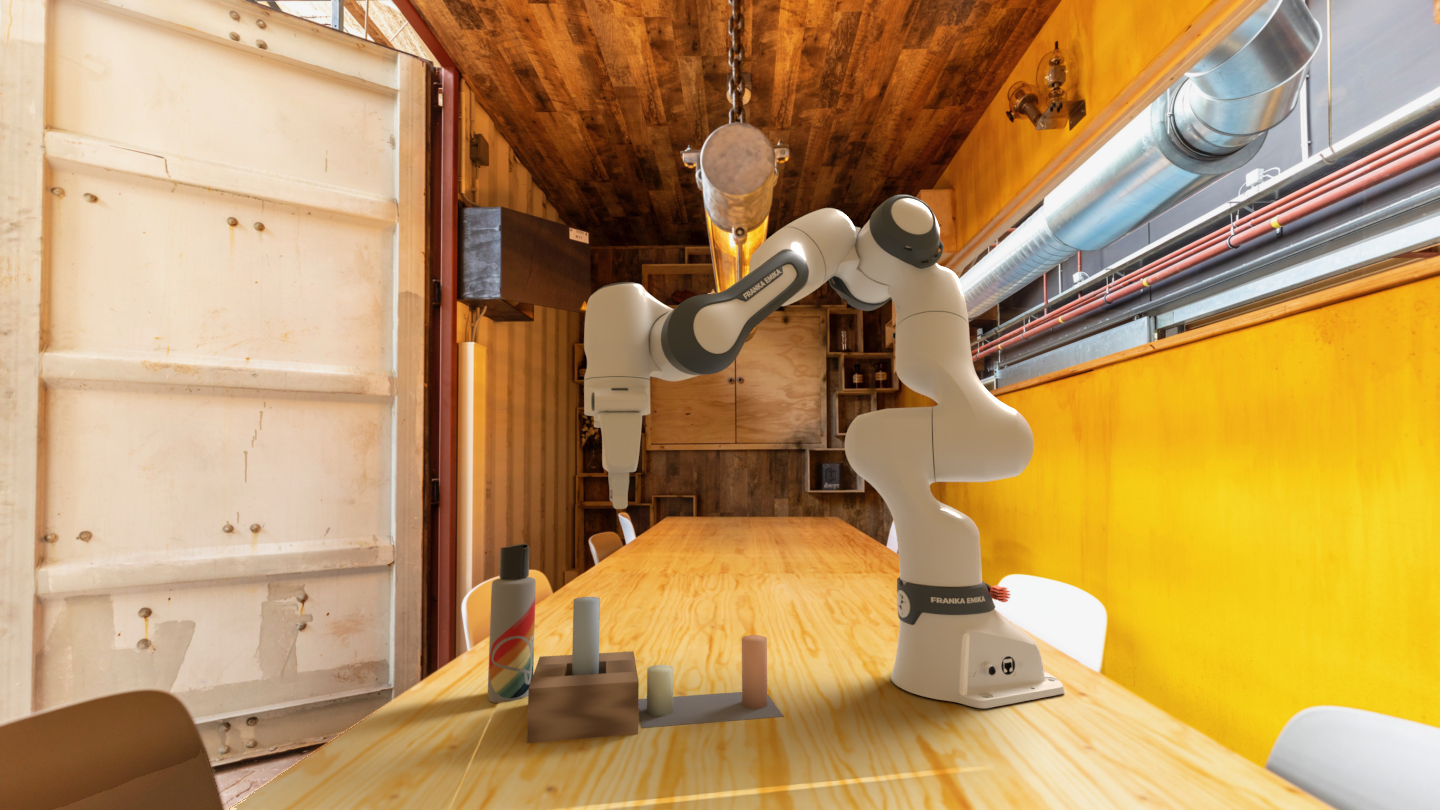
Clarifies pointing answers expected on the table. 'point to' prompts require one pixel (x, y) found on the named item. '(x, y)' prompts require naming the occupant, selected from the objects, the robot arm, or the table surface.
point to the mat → (707, 710)
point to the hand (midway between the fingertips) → (618, 505)
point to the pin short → (660, 690)
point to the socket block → (583, 699)
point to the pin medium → (754, 671)
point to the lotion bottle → (512, 627)
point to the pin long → (586, 636)
